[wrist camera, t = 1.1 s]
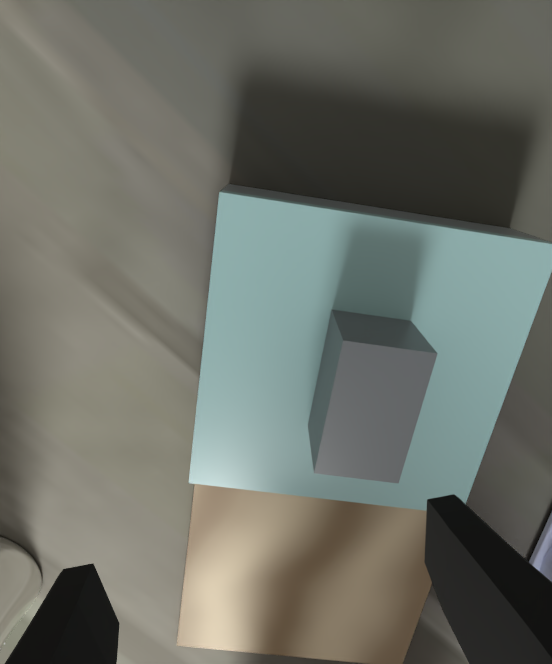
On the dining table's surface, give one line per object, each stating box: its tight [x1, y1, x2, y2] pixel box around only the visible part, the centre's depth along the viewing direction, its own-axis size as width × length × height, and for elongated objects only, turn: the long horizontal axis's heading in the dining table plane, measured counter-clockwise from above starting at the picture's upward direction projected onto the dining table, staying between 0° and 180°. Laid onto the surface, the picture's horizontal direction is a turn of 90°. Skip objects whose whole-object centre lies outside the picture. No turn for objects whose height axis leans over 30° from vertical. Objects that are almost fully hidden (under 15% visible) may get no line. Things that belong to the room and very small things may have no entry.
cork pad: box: [177, 484, 432, 664], centre depth 27 cm, size 14×14×1 cm
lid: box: [189, 190, 552, 511], centre depth 17 cm, size 12×12×4 cm
